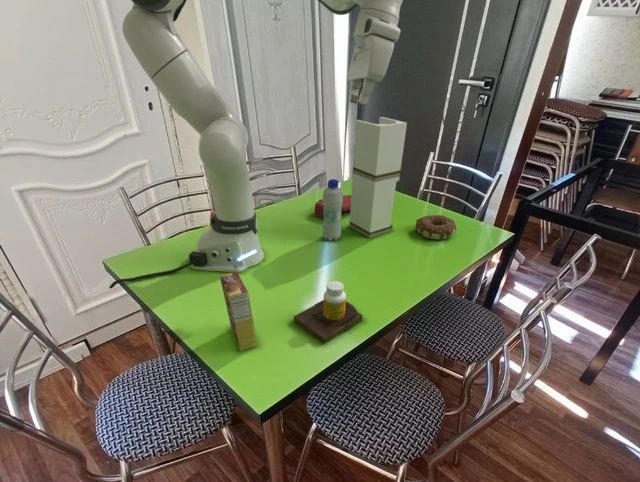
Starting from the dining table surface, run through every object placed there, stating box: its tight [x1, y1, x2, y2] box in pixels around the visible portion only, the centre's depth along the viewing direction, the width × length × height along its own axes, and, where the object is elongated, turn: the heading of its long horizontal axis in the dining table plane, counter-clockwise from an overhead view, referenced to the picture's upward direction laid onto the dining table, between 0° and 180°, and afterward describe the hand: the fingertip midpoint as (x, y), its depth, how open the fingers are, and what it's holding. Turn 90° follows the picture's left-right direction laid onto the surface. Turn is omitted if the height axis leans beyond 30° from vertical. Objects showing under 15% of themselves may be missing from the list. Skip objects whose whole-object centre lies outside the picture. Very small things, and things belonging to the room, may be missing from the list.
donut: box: [415, 214, 457, 241], centre depth 129 cm, size 14×14×5 cm
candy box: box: [219, 272, 258, 352], centre depth 80 cm, size 9×4×15 cm, turn 24°
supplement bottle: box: [323, 280, 347, 320], centre depth 88 cm, size 5×5×10 cm
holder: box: [293, 300, 364, 345], centre depth 90 cm, size 14×11×2 cm
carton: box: [313, 194, 351, 220], centre depth 147 cm, size 12×5×25 cm
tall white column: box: [349, 116, 408, 239], centre depth 122 cm, size 11×11×35 cm
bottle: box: [322, 178, 344, 242], centre depth 121 cm, size 7×7×20 cm
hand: (357, 103), depth 87 cm, fingers open, 8 cm apart
